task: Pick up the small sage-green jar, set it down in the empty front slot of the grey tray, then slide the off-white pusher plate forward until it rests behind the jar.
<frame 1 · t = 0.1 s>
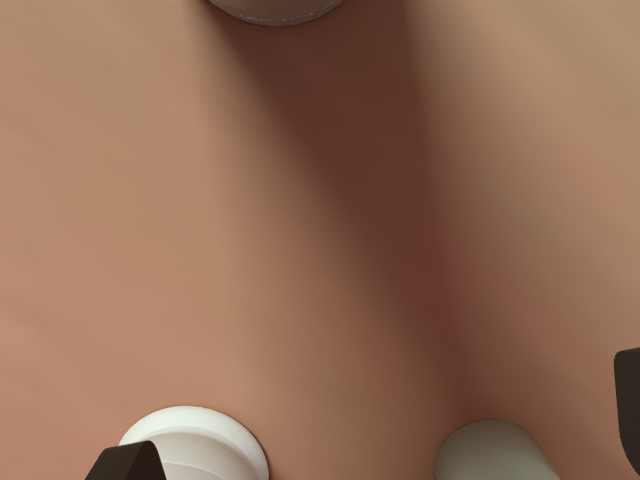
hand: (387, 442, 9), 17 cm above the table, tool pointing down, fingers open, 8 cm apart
small jar: (487, 466, 30), on the table
jar: (193, 468, 30), on the table
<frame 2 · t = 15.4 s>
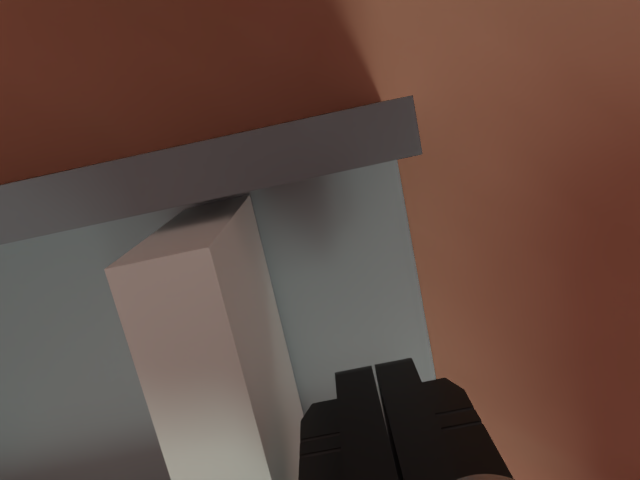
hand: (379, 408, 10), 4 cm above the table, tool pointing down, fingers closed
grey tray: (56, 390, 14), on the table
pusher: (249, 423, 11), point 4 cm above the table, slide at 1.5 cm, touching gripper
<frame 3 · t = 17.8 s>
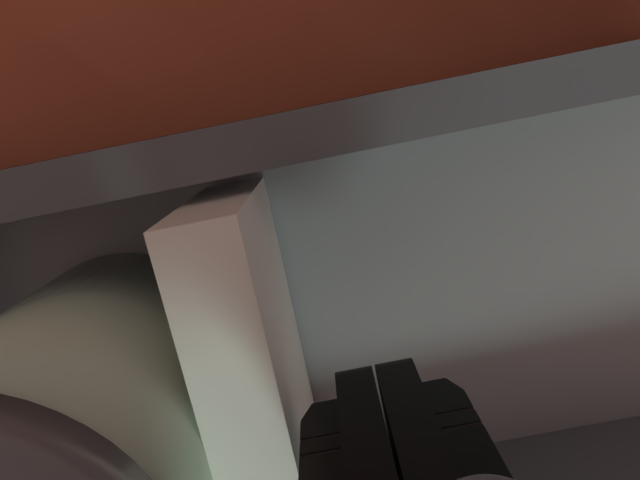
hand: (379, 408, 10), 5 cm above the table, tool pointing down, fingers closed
small jar: (137, 358, 15), point 1 cm above the table, touching grey tray, pusher
grey tray: (317, 312, 15), on the table
pusher: (262, 383, 12), point 4 cm above the table, slide at 8.5 cm, touching small jar
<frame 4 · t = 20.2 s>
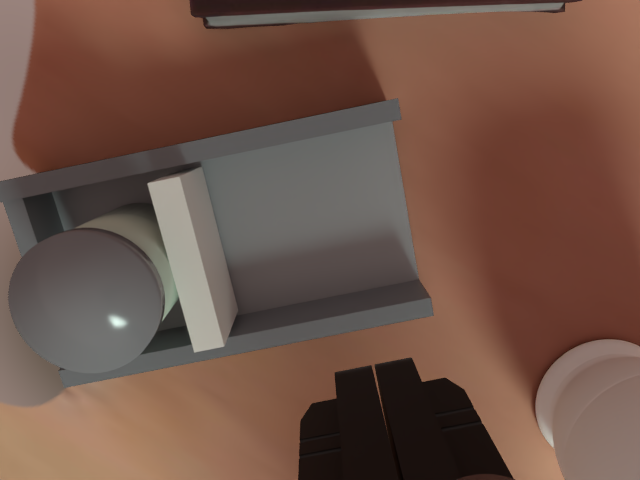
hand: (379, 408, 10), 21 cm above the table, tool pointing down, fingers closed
small jar: (144, 255, 30), point 1 cm above the table, touching grey tray
grey tray: (232, 234, 31), on the table
pusher: (198, 254, 27), point 4 cm above the table, slide at 8.5 cm
jar: (597, 397, 34), on the table
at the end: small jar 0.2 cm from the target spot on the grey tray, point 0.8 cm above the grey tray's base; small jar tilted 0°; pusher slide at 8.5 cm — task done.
